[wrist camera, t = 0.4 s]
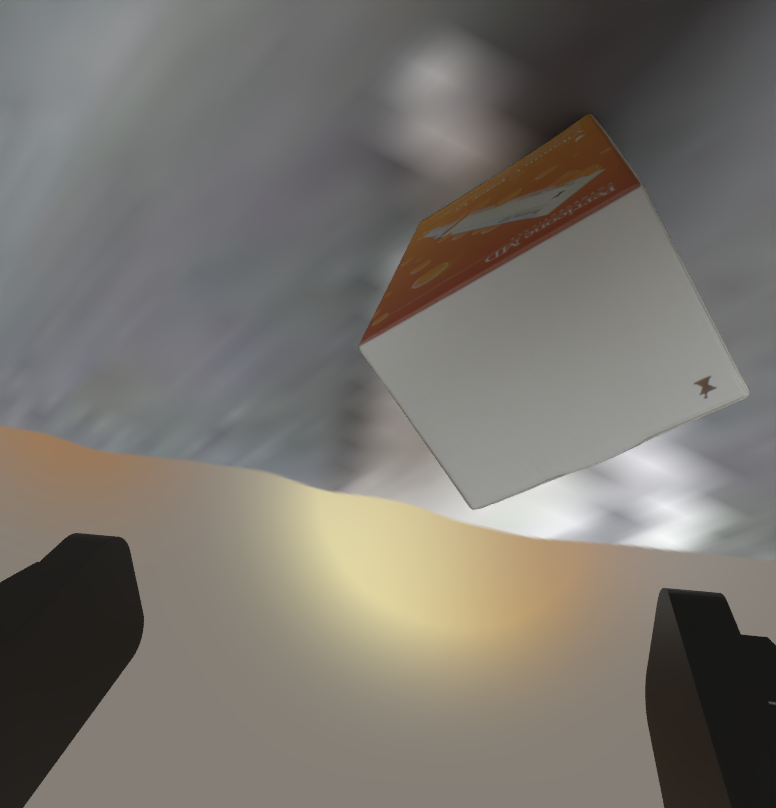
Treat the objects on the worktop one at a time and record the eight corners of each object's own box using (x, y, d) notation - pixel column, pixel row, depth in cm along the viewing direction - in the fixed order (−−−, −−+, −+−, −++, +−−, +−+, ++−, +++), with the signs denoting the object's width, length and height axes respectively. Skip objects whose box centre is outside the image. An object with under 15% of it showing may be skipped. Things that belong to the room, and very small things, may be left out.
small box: (590, 107, 26) (649, 175, 14) (661, 247, 28) (760, 401, 17) (413, 221, 29) (349, 349, 18) (488, 339, 31) (475, 520, 20)
